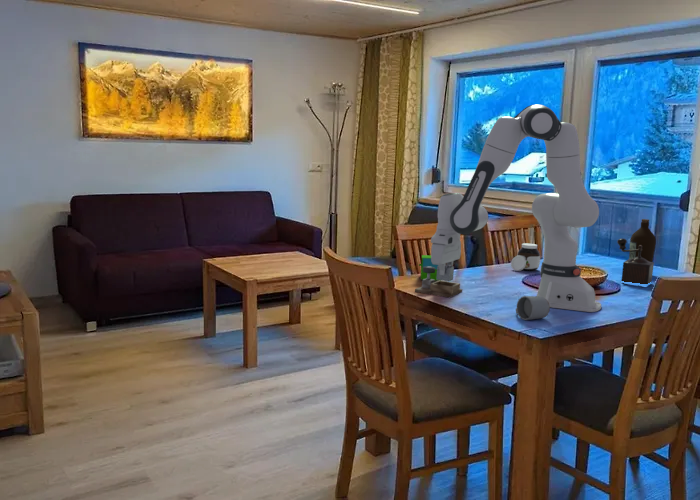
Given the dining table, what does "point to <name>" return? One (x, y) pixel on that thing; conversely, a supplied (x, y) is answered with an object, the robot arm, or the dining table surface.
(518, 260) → the spread jar
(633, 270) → the manual coffee grinder
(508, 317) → the dining table surface
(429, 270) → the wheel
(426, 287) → the chassis
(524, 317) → the ceramic mug
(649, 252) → the olive oil
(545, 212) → the robot arm
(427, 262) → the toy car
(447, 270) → the engine block
